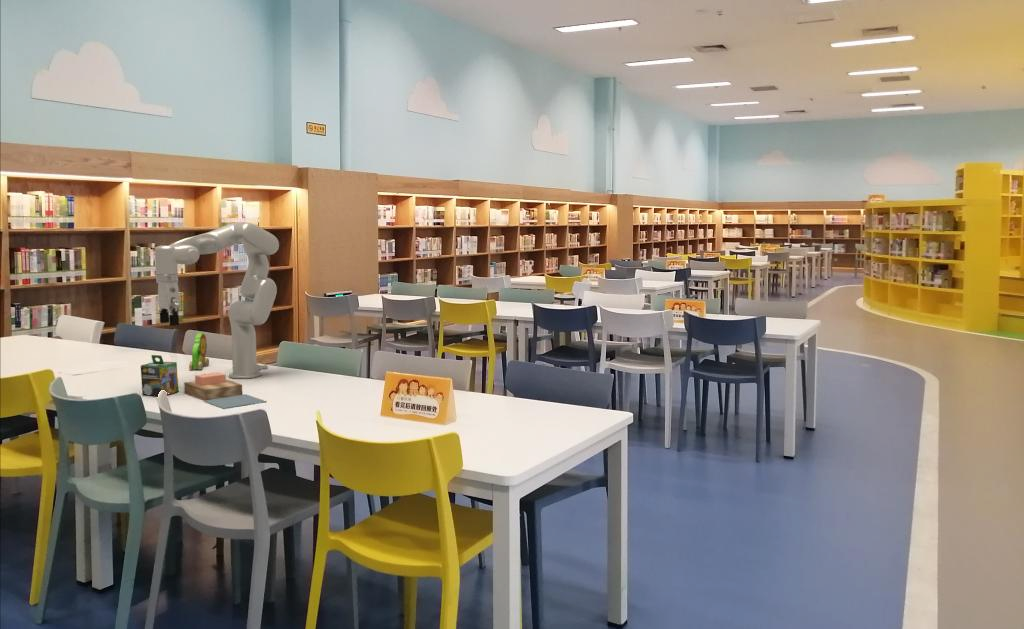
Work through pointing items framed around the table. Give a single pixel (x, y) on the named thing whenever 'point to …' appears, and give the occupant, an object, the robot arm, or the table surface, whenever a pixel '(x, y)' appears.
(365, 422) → the table surface
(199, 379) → the salmon pink block
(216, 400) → the mat
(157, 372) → the green printed box
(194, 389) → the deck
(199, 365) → the toy lion
